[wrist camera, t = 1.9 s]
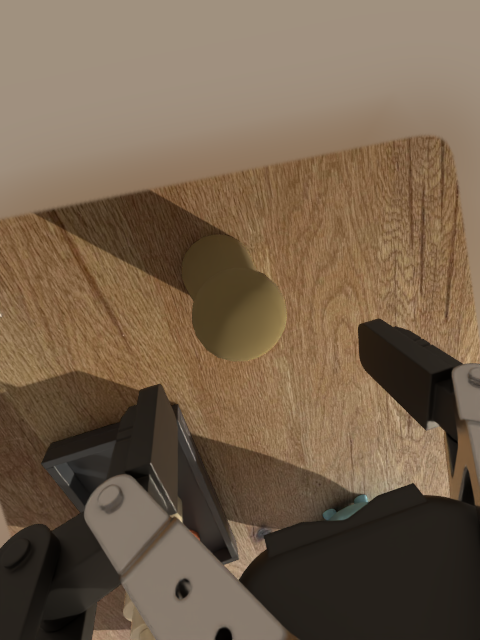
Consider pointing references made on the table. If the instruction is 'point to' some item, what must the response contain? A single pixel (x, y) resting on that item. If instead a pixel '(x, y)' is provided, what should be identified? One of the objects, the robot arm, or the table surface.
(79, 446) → the tray
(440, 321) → the table surface
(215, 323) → the pepper shaker
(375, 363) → the robot arm
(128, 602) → the cream bottle
